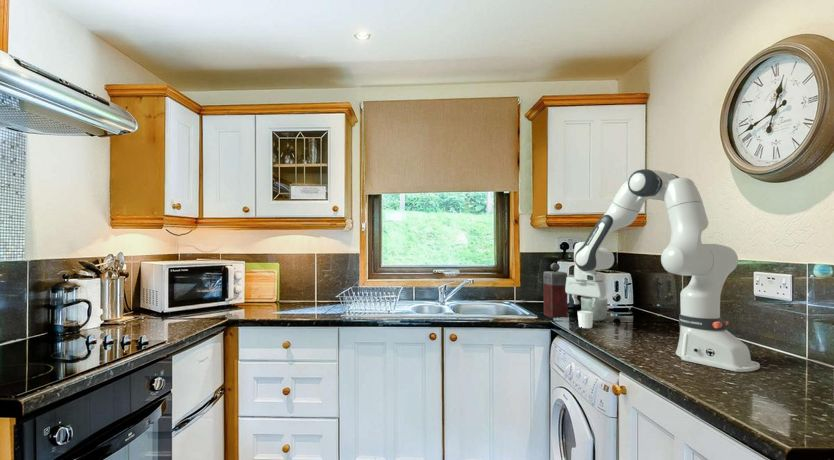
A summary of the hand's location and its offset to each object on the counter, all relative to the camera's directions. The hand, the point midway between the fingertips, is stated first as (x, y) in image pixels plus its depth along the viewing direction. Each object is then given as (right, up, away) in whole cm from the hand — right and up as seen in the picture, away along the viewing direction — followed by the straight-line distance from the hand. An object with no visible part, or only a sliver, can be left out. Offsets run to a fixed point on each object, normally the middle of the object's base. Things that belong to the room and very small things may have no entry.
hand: (584, 305), depth 181 cm
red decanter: (-5, -11, +27) cm, 29 cm away
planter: (+12, -11, +17) cm, 24 cm away
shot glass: (0, -10, 0) cm, 10 cm away
